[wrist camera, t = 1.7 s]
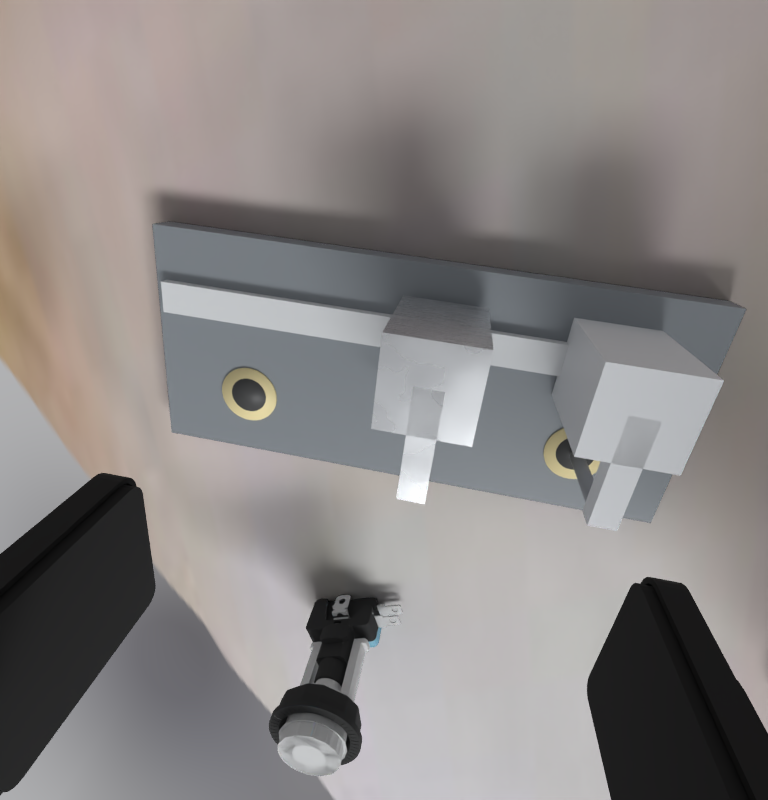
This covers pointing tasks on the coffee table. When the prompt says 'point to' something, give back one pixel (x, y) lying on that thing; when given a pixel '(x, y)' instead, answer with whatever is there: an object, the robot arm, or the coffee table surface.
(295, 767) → the push button
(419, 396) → the sliding block
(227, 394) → the plate
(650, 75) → the coffee table surface
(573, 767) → the coffee table surface
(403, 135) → the coffee table surface
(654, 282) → the coffee table surface
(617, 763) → the robot arm
